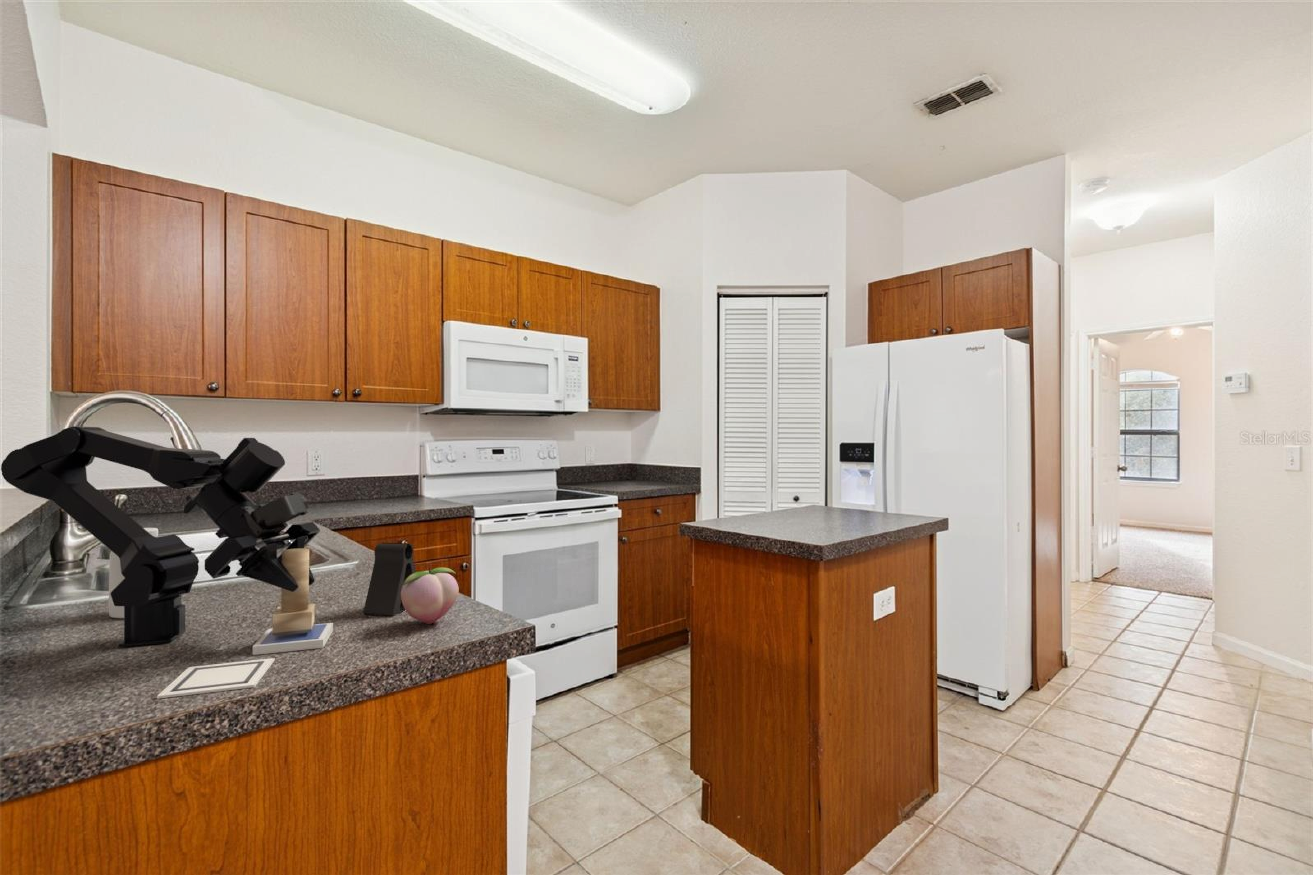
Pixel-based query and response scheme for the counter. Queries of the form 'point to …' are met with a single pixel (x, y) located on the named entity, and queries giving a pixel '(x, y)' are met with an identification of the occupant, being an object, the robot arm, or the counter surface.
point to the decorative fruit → (429, 594)
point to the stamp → (295, 596)
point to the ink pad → (293, 640)
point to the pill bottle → (119, 578)
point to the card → (217, 678)
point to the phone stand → (389, 578)
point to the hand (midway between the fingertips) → (304, 586)
